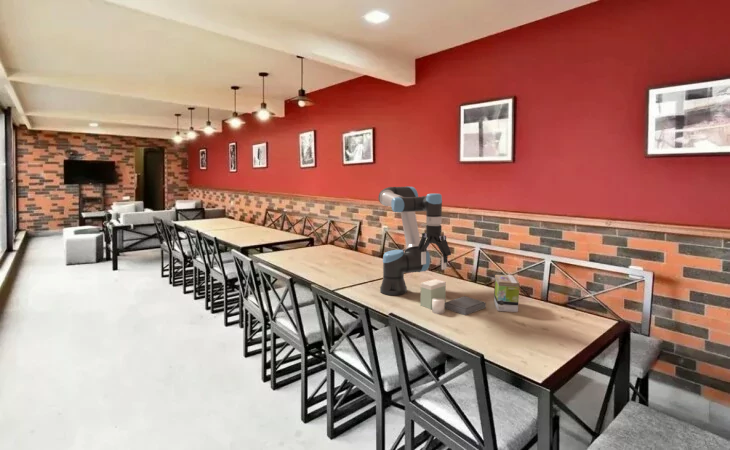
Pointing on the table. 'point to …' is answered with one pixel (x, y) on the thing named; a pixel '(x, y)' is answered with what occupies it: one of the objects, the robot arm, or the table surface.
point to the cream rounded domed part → (438, 305)
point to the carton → (432, 292)
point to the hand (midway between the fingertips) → (433, 266)
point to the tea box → (506, 293)
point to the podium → (465, 305)
